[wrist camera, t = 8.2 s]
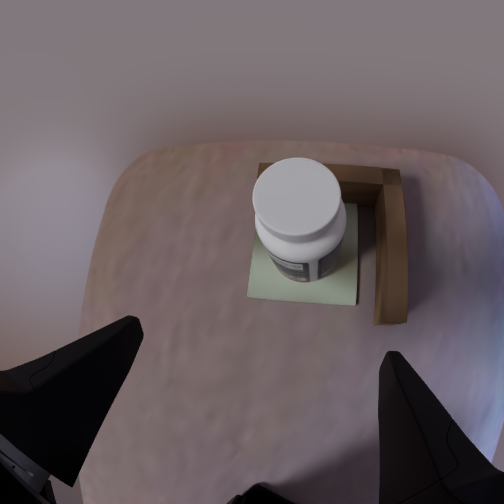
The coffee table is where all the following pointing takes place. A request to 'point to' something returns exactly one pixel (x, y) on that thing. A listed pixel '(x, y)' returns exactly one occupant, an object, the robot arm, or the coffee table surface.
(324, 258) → the pill bottle
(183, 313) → the coffee table surface
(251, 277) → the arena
